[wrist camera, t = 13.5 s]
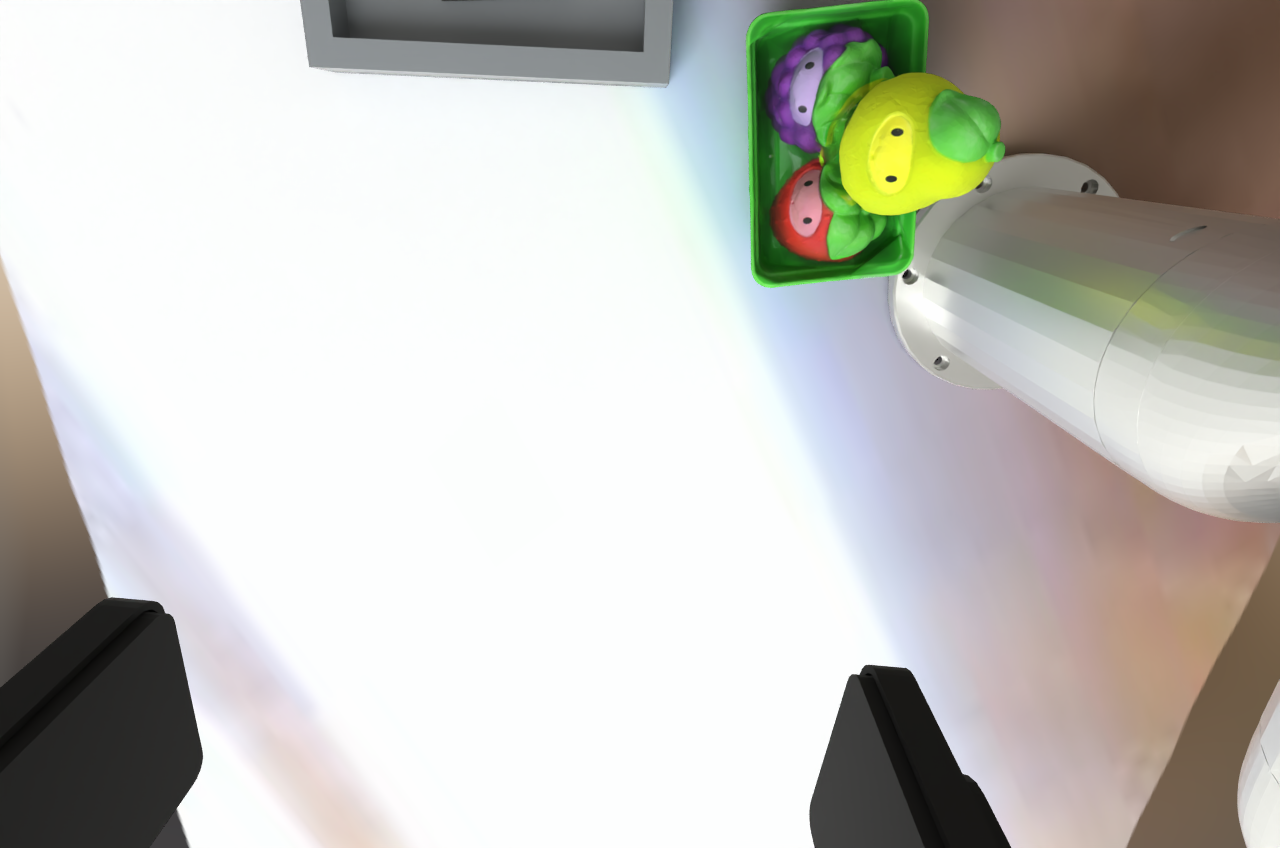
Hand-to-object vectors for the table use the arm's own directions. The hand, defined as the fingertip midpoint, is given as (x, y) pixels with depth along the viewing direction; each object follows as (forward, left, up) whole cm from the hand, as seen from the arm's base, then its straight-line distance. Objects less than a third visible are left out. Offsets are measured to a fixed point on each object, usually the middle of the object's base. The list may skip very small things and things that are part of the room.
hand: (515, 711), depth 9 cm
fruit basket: (-11, -7, -30) cm, 33 cm away
